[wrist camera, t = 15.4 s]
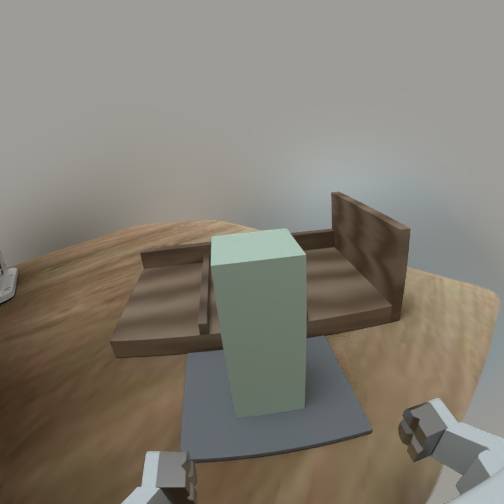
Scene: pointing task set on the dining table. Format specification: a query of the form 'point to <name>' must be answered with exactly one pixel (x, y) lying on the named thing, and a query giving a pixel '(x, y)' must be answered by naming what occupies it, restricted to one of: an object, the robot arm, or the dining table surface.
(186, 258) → the lane shelf
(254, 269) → the block
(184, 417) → the mat
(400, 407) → the dining table surface
